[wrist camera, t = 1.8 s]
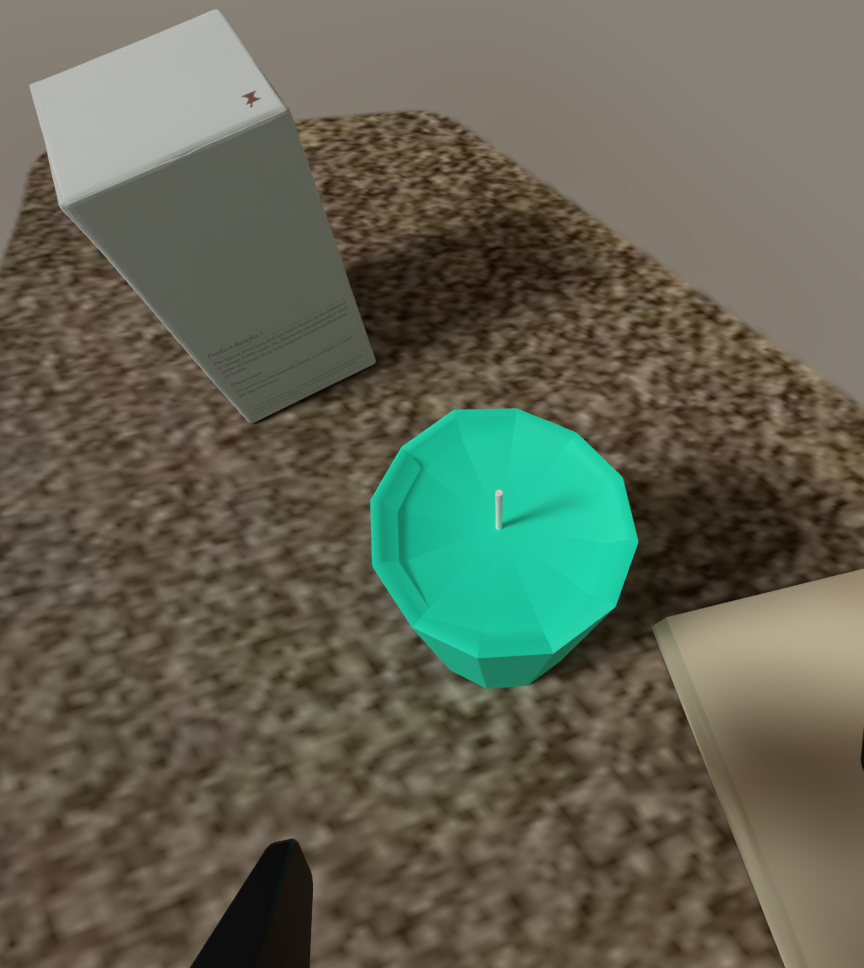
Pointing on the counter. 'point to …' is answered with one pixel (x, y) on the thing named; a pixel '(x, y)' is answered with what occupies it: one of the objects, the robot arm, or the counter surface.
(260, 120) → the supplement box
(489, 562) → the candle
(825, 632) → the beige square slab
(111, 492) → the counter surface
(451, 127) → the counter surface
